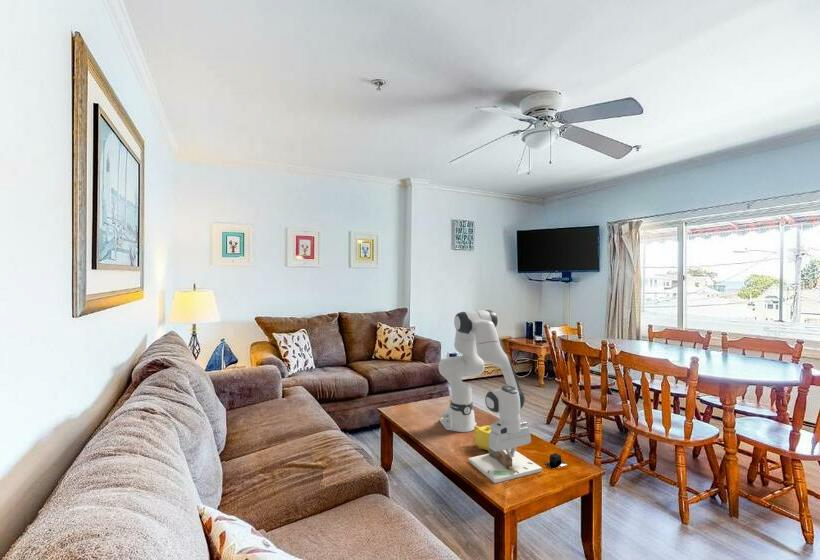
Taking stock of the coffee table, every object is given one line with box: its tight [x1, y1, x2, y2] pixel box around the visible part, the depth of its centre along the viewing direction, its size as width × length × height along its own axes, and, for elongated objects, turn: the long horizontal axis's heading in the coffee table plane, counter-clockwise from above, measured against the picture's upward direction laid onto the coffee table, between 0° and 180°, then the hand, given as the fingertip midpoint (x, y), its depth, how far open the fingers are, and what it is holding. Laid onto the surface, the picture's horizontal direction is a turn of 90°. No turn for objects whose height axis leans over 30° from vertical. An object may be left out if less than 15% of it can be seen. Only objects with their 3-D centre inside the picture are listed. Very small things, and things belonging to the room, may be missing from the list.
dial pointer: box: [488, 448, 516, 473], centre depth 168 cm, size 20×5×4 cm, turn 16°
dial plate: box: [468, 448, 543, 484], centre depth 169 cm, size 20×24×2 cm
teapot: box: [473, 424, 491, 453], centre depth 186 cm, size 18×11×11 cm, turn 45°
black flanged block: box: [545, 452, 568, 469], centre depth 170 cm, size 12×7×5 cm, turn 119°
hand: (510, 457), depth 167 cm, fingers closed
